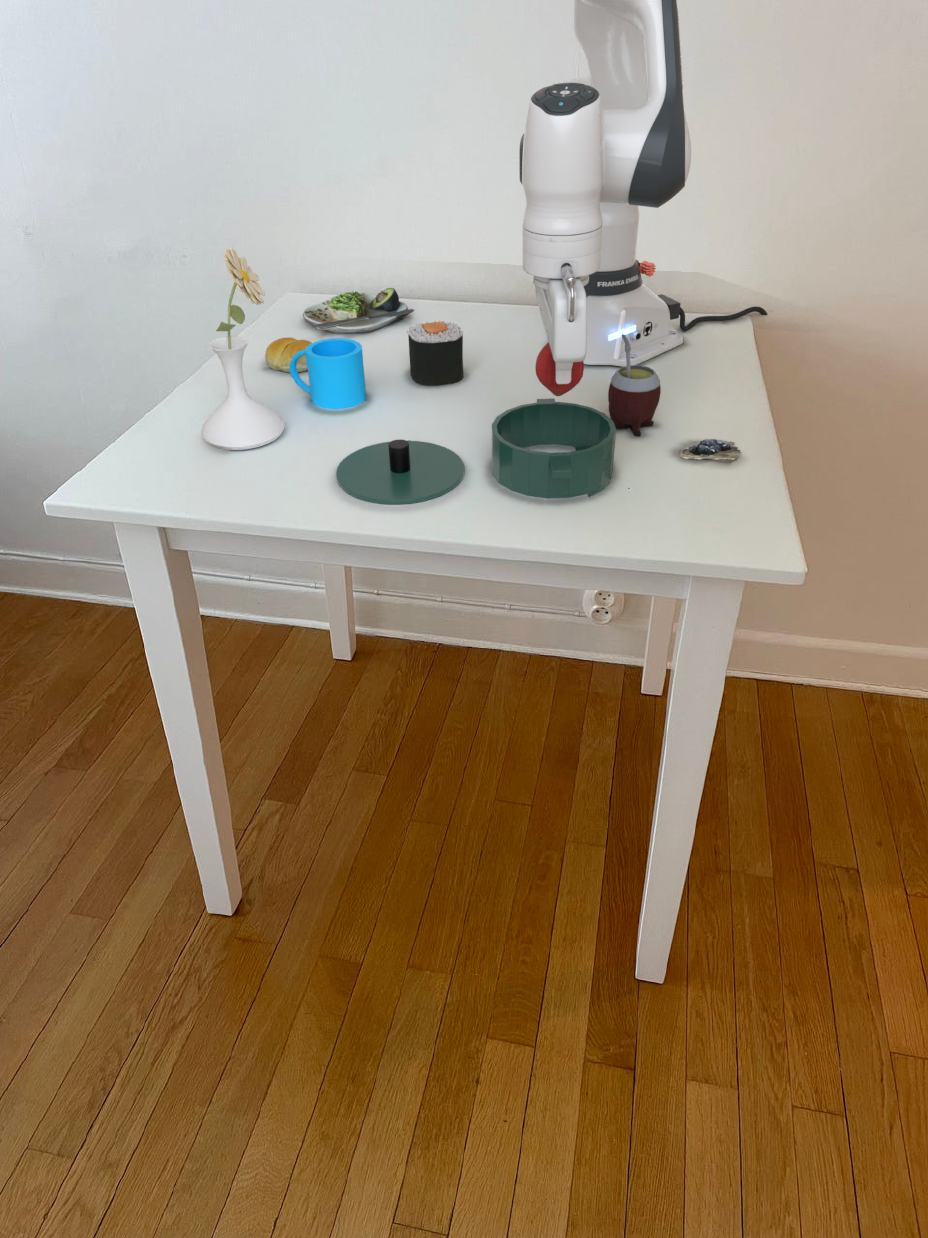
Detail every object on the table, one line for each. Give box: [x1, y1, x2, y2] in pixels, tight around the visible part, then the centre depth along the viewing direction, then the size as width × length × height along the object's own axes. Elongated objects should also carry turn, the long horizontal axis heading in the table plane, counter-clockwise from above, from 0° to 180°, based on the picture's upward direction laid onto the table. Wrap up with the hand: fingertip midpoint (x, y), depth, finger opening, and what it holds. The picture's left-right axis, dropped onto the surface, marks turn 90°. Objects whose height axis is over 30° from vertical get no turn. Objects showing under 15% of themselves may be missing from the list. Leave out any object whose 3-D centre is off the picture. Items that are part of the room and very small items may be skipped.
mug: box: [289, 337, 367, 410], centre depth 140 cm, size 12×8×8 cm
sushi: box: [406, 320, 464, 387], centre depth 147 cm, size 8×8×8 cm
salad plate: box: [302, 287, 415, 334], centre depth 169 cm, size 19×18×5 cm
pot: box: [491, 397, 617, 499], centre depth 121 cm, size 15×21×6 cm
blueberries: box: [678, 438, 742, 463], centre depth 125 cm, size 7×8×2 cm
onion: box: [535, 341, 585, 397], centre depth 114 cm, size 6×6×8 cm
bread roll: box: [264, 337, 313, 373], centre depth 153 cm, size 8×9×4 cm
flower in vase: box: [200, 246, 286, 451], centre depth 126 cm, size 13×11×25 cm
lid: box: [335, 439, 465, 505], centre depth 121 cm, size 16×16×5 cm
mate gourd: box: [607, 334, 662, 437], centre depth 128 cm, size 8×8×15 cm
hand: (559, 369), depth 115 cm, fingers closed on onion, 6 cm apart
